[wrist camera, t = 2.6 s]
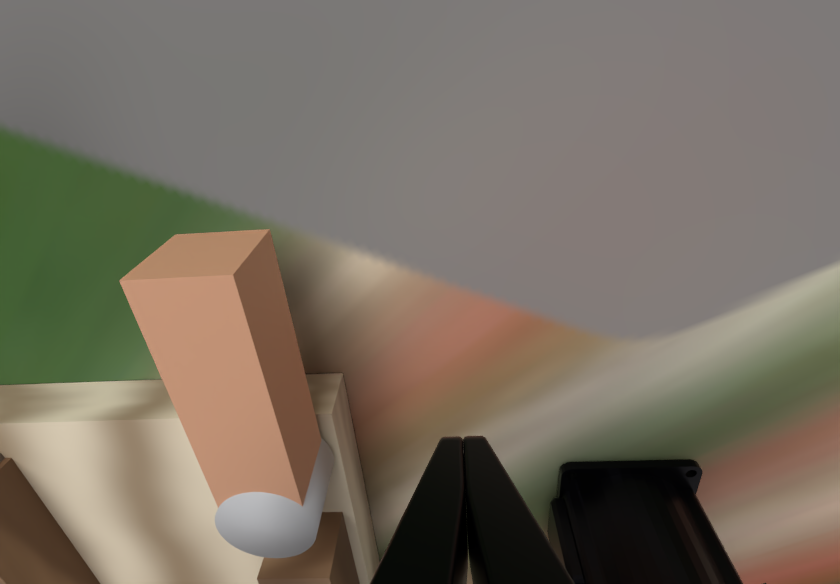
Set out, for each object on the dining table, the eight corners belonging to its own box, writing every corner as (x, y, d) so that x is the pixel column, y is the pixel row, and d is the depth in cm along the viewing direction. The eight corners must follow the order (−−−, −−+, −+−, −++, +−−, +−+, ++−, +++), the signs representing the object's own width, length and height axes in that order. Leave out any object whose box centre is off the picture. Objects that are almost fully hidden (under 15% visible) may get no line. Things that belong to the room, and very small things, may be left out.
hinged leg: (340, 485, 21) (324, 557, 18) (258, 486, 21) (230, 558, 18) (280, 227, 15) (243, 275, 12) (167, 234, 15) (105, 282, 12)
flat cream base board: (342, 373, 21) (312, 481, 16) (387, 599, 30) (376, 714, 25) (-39, 386, 22) (-175, 491, 17) (112, 600, 31) (50, 709, 26)
